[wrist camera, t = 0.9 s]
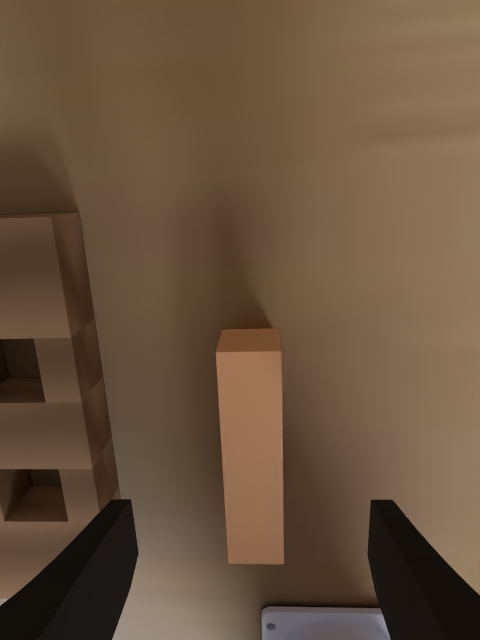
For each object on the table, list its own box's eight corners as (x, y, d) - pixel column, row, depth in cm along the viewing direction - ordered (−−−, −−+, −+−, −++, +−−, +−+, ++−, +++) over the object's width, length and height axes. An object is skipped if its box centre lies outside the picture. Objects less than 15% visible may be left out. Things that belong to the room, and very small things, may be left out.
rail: (129, 557, 23) (114, 600, 21) (20, 556, 24) (-7, 598, 21) (79, 212, 18) (51, 216, 16) (-61, 217, 18) (-109, 222, 16)
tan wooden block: (279, 486, 22) (283, 564, 17) (235, 486, 22) (228, 563, 17) (277, 312, 19) (281, 351, 14) (226, 313, 19) (215, 352, 15)
